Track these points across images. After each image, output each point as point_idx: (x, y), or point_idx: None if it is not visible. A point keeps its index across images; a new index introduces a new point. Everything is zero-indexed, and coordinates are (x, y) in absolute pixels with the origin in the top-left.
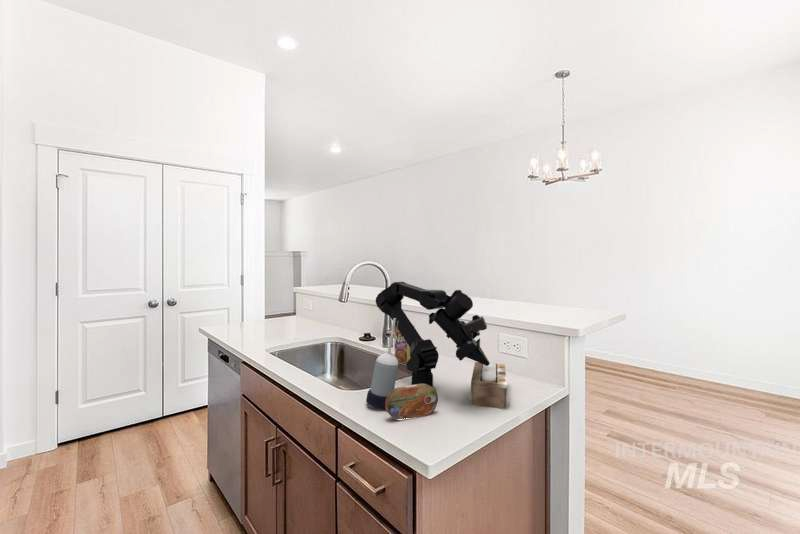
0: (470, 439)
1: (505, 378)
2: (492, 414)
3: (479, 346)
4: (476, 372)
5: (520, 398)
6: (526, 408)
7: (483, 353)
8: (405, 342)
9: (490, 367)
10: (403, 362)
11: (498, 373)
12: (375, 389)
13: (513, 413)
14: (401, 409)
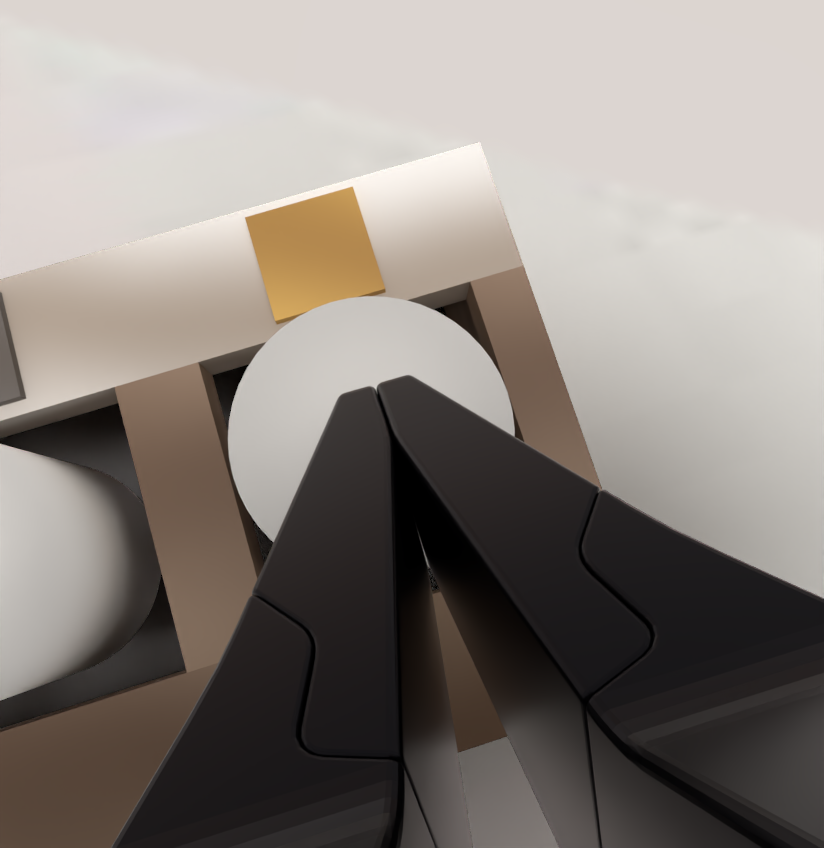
0: None
1: (199, 234)
2: (665, 355)
3: (388, 842)
4: (134, 783)
5: (92, 225)
6: (331, 115)
7: (385, 555)
8: None
9: (55, 509)
10: None
11: (20, 396)
12: None
13: (522, 190)
14: None
